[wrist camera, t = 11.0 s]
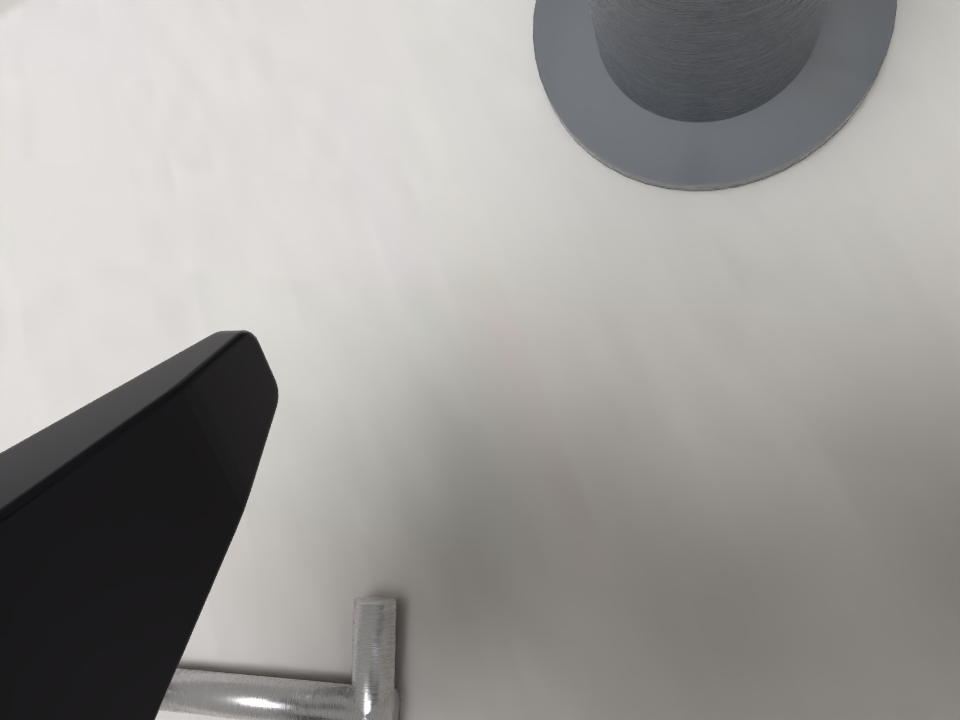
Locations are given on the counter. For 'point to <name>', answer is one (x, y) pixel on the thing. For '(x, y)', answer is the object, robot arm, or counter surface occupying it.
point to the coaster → (718, 144)
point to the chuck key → (304, 681)
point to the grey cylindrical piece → (705, 52)
